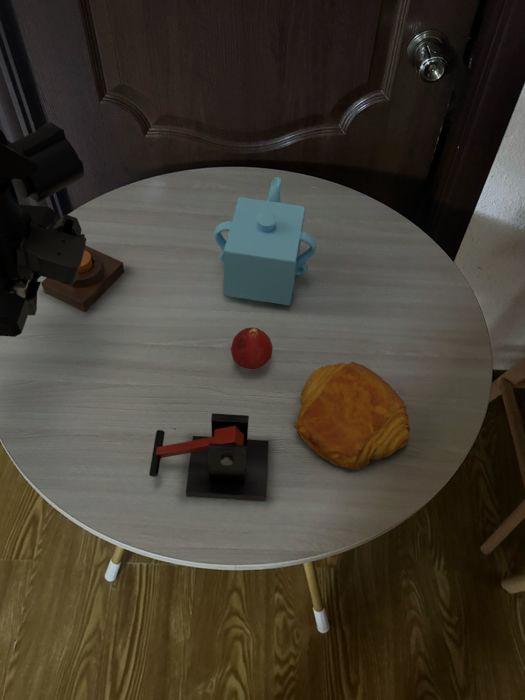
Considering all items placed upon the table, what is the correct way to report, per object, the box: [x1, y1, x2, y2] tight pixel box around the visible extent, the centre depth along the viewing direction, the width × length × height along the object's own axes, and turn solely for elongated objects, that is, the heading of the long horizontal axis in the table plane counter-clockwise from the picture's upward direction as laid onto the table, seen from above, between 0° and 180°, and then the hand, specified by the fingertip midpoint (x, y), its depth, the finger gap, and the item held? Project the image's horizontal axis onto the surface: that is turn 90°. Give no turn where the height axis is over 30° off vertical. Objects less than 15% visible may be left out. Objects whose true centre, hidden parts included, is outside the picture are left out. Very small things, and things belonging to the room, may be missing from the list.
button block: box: [40, 245, 125, 313], centre depth 96 cm, size 10×8×4 cm
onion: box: [230, 327, 273, 371], centre depth 87 cm, size 6×6×8 cm
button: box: [78, 250, 93, 274], centre depth 94 cm, size 4×4×2 cm
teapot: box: [213, 176, 317, 306], centre depth 97 cm, size 18×16×13 cm
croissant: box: [293, 361, 411, 471], centre depth 82 cm, size 14×16×8 cm
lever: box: [148, 426, 244, 478], centre depth 75 cm, size 12×6×2 cm, turn 88°
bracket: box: [185, 412, 270, 502], centre depth 76 cm, size 10×8×10 cm
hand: (31, 313), depth 78 cm, fingers closed
